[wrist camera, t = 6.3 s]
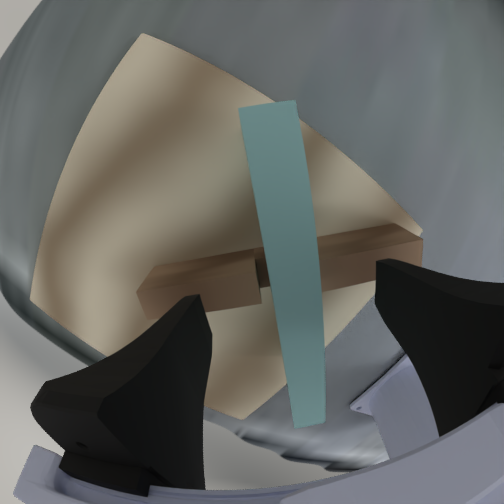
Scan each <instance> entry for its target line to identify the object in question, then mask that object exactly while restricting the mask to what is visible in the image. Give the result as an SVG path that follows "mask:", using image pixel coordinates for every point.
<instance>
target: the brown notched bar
mask: <svg viewBox="0 0 504 504" xmlns="http://www.w3.org/2000/svg"><path fill="white" fill-rule="evenodd" d="M317 245H318V255H319V266H320V277H321V290H322V292H325V291H330V290H335V289H340V288H344V287H349V286H353V285H358V284H362V283H366V282H371V281H375V280H376V261H378V260H382V259H387V258H391V259H396V260H400V261H403V262H407V263H410V264H413V265H416V266H419V267H421V265H422V250H423V239H422V238H420V237H418V236H417V235H415V234H413V233H411V232H410V231H408V230H406V229H405V228H403V227H401V226H399V225H397V224H396V223H392V224H387V225H381V226H375V227H370V228H364V229H359V230H353V231H347V232H342V233H336V234H331V235H325V236H319V237H317ZM269 286H270V280H269V275H268V269H267V263H266V258H265V252H264V247H258V248H253V249H247V250H242V251H236V252H231V253H225V254H220V255H215V256H209V257H204V258H198V259H193V260H187V261H182V262H176V263H171V264H166V265H160V266H155V267H153V269H152V270H151V271H150V273H149V274H148V276H147V277H146V278H145V280H144V281H143V283H142V284H141V285H140V287H139V288H138V290H137V291H136V294H137V296H138V299H139V301H140V304H141V306H142V309H143V311H144V314H145V316H146V318H147V320H151V319H160V318H161V317H162V316H163V315H164V314H165V313H166V312H167V311H168V310H170V309H171V308H172V307H173V306H174V305H175V304H176V303H177V302H178V301H179V300H181V299H182V298H183V297H185V296H189V295H195V294H200V297H201V300H202V303H203V307H204V310H205V313H206V312H213V311H220V310H226V309H233V308H239V307H245V306H251V305H257V304H262V300H261V291H260V288H264V287H269Z"/></svg>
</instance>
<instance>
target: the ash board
mask: <svg viewBox="0 0 504 504" xmlns="http://www.w3.org/2000/svg"><path fill="white" fill-rule="evenodd" d="M273 102H274V101H273V100H271V99H270V98H268V97H267V96H265V95H263V94H262V93H260V92H259V91H257V90H255V89H254V88H252V87H251V86H249V85H247V84H246V83H244V82H242V81H241V80H239V79H237V78H235V77H234V76H232V75H230V74H228V73H227V72H225V71H223V70H221V69H219V68H218V67H216V66H214V65H212V64H210V63H208V62H206V61H204V60H202V59H200V58H198V57H196V56H194V55H192V54H190V53H188V52H186V51H184V50H182V49H179V48H177V47H175V46H173V45H171V44H168V43H166V42H164V41H161V40H159V39H156V38H154V37H152V36H149V35H146V34H144V33H142V34H141V35H140V36H139V37H138V39H137V40H136V41H135V43H134V44H133V45H132V47H131V48H130V49H129V51H128V52H127V53H126V55H125V56H124V58H123V59H122V60H121V62H120V63H119V65H118V66H117V68H116V69H115V71H114V72H113V74H112V75H111V77H110V78H109V80H108V82H107V83H106V85H105V86H104V88H103V90H102V91H101V93H100V95H99V96H98V98H97V100H96V102H95V103H94V105H93V107H92V109H91V111H90V113H89V114H88V116H87V118H86V120H85V122H84V124H83V126H82V128H81V130H80V132H79V134H78V136H77V138H76V141H75V143H74V145H73V147H72V149H71V152H70V154H69V156H68V159H67V161H66V164H65V166H64V169H63V171H62V174H61V176H60V179H59V182H58V184H57V187H56V190H55V193H54V196H53V199H52V202H51V205H50V208H49V212H48V215H47V219H46V222H45V226H44V229H43V233H42V237H41V241H40V246H39V250H38V255H37V260H36V265H35V270H34V276H33V282H32V288H31V296H30V300H31V301H32V302H33V303H34V304H36V305H37V306H38V307H39V308H40V309H42V310H43V311H44V312H45V313H46V314H48V315H49V316H50V317H51V318H53V319H54V320H55V321H57V322H58V323H59V324H61V325H62V326H63V327H65V328H66V329H67V330H69V331H70V332H71V333H73V334H74V335H76V336H77V337H79V338H80V339H81V340H83V341H84V342H86V343H87V344H89V345H90V346H92V347H93V348H95V349H96V350H98V351H99V352H101V353H103V354H104V355H106V356H107V357H108V356H110V355H112V354H113V353H115V352H117V351H119V350H120V349H122V348H123V347H125V346H126V345H128V344H129V343H130V342H132V341H133V340H135V339H136V338H137V337H139V336H140V335H141V334H142V333H144V332H145V331H146V330H147V329H148V328H149V327H151V326H152V325H153V324H154V323H155V322H157V321H158V320H159V319H151V320H147V318H146V316H145V314H144V311H143V309H142V306H141V304H140V301H139V299H138V296H137V294H136V291H137V290H138V288H139V287H140V285H141V284H142V283H143V281H144V280H145V278H146V277H147V276H148V274H149V273H150V271H151V270H152V269H153V267H155V266H160V265H166V264H171V263H176V262H182V261H187V260H193V259H198V258H204V257H209V256H215V255H220V254H225V253H231V252H236V251H242V250H247V249H253V248H258V247H263V241H262V236H261V231H260V225H259V220H258V214H257V209H256V204H255V198H254V193H253V188H252V182H251V177H250V172H249V166H248V161H247V156H246V151H245V146H244V140H243V135H242V130H241V124H240V118H239V111H238V108H241V107H247V106H253V105H259V104H266V103H273ZM299 122H300V127H301V132H302V138H303V144H304V149H305V155H306V162H307V168H308V174H309V181H310V188H311V195H312V203H313V210H314V218H315V227H316V236H317V237H319V236H325V235H331V234H336V233H342V232H347V231H353V230H359V229H364V228H370V227H375V226H381V225H387V224H392V223H396V224H397V225H399V226H401V227H403V228H405V229H406V230H408V231H410V232H411V233H413V234H415V235H417V236H418V237H419V236H420V234H421V233H422V231H423V230H422V229H421V228H420V226H419V225H418V224H417V223H416V222H415V221H414V220H413V219H412V218H411V217H410V216H409V215H408V214H407V212H406V211H405V210H404V209H403V208H402V207H401V206H400V205H399V204H398V203H397V202H396V201H395V200H394V199H393V198H392V197H391V196H390V195H389V194H388V193H387V192H386V191H385V190H384V189H383V188H382V187H381V186H380V185H378V184H377V183H376V182H375V181H374V180H373V179H372V178H371V177H370V176H369V175H368V174H367V173H365V172H364V171H363V170H362V169H361V168H360V167H359V166H358V165H357V164H355V163H354V162H353V161H352V160H351V159H350V158H348V157H347V156H346V155H345V154H344V153H342V152H341V151H340V150H339V149H338V148H336V147H335V146H334V145H333V144H332V143H330V142H329V141H328V140H327V139H325V138H324V137H323V136H321V135H320V134H319V133H318V132H316V131H315V130H314V129H312V128H311V127H310V126H308V125H307V124H306V123H304V122H303V121H301V120H300V119H299ZM375 284H376V280H375V281H371V282H366V283H362V284H358V285H353V286H349V287H344V288H340V289H335V290H330V291H325V292H322V304H323V321H324V343H325V347H326V346H327V345H328V344H329V343H330V342H331V341H332V340H333V339H334V338H335V337H336V336H337V335H338V334H339V333H340V332H341V331H342V330H343V329H344V328H345V327H346V325H347V324H348V323H349V322H350V321H351V320H352V319H353V318H354V317H355V316H356V315H357V313H358V312H359V311H360V310H361V309H362V308H363V307H364V306H365V304H366V303H367V302H368V301H369V300H370V299H371V297H372V296H373V295H374V294H375ZM260 291H261V300H262V304H257V305H251V306H245V307H239V308H233V309H226V310H220V311H213V312H206V316H207V319H208V322H209V325H210V328H211V331H212V334H213V339H212V358H211V364H210V370H209V376H208V382H207V388H206V393H205V399H204V406H206V407H208V408H211V409H213V410H216V411H219V412H221V413H224V414H227V415H229V416H232V417H235V418H238V419H241V420H243V419H245V418H246V417H247V416H248V415H250V414H251V413H252V412H254V411H255V410H256V409H257V408H259V407H260V406H261V405H262V404H263V403H265V402H266V401H267V400H268V399H269V398H271V397H272V396H273V395H274V394H275V393H277V392H278V391H279V390H280V389H281V388H282V387H284V386H285V385H286V384H287V380H286V374H285V368H284V363H283V357H282V351H281V345H280V339H279V333H278V327H277V321H276V315H275V310H274V304H273V298H272V292H271V287H270V286H269V287H264V288H260Z"/></svg>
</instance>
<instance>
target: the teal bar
mask: <svg viewBox="0 0 504 504" xmlns="http://www.w3.org/2000/svg"><path fill="white" fill-rule="evenodd" d="M238 111H239V118H240V124H241V130H242V135H243V140H244V146H245V151H246V156H247V161H248V166H249V172H250V177H251V182H252V188H253V193H254V198H255V204H256V209H257V214H258V220H259V225H260V231H261V236H262V241H263V247H264V252H265V258H266V263H267V269H268V275H269V280H270V287H271V292H272V298H273V304H274V310H275V315H276V321H277V327H278V333H279V339H280V345H281V351H282V357H283V363H284V368H285V374H286V380H287V386H288V392H289V398H290V404H291V410H292V416H293V422H294V429H296V428H301V427H306V426H311V425H316V424H321V423H325V407H326V384H325V343H324V321H323V304H322V290H321V277H320V266H319V255H318V245H317V236H316V227H315V218H314V210H313V203H312V195H311V188H310V181H309V174H308V168H307V162H306V155H305V149H304V144H303V138H302V132H301V127H300V122H299V116H298V111H297V106H296V101H295V100H290V101H281V102H273V103H266V104H259V105H253V106H247V107H241V108H238Z"/></svg>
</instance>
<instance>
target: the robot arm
mask: <svg viewBox="0 0 504 504" xmlns="http://www.w3.org/2000/svg"><path fill="white" fill-rule="evenodd" d="M375 305H376V307H377V309H378V311H379V313H380V315H381V317H382V319H383V321H384V322H385V324H386V325H387V327H388V328H389V330H390V331H391V333H392V334H393V335H394V337H395V338H396V340H397V341H398V343H399V344H400V346H401V347H402V348H403V350H404V351H405V353H406V354H405V355H404V356H403V357H402V358H401V359H400V360H399V361H398V362H397V363H396V364H395V365H394V366H393V367H392V368H391V369H390V370H389V371H388V372H387V373H386V374H385V375H384V376H382V377H381V378H380V379H379V380H378V381H377V382H376V383H375V384H374V385H372V386H371V387H370V388H369V389H368V390H367V391H366V392H364V393H363V394H362V395H361V396H360V397H358V398H357V399H356V400H355V401H353V402H352V403H351V404H350V409H351V410H354V411H357V412H360V413H364V414H367V415H371V416H373V417H374V420H375V422H376V425H377V427H378V430H379V432H380V435H381V437H382V440H383V443H384V445H385V448H386V450H387V453H388V456H389V458H390V460H387V461H384V462H381V463H378V464H376V465H373V466H370V467H366V468H363V469H360V470H357V471H353V472H350V473H346V474H342V475H339V476H334V477H330V478H326V479H321V480H316V481H311V482H306V483H300V484H294V485H288V486H279V487H271V488H260V489H245V490H206V489H205V478H204V465H203V408H204V399H205V393H206V388H207V382H208V376H209V370H210V364H211V358H212V339H213V334H212V331H211V328H210V325H209V322H208V319H207V316H206V313H205V310H204V307H203V303H202V300H201V297H200V294H195V295H189V296H185V297H183V298H182V299H181V300H179V301H178V302H177V303H176V304H175V305H174V306H173V307H172V308H171V309H170V310H168V311H167V312H166V313H165V314H164V315H163V316H162V317H161V318H160V319H159V320H158V321H157V322H155V323H154V324H153V325H152V326H151V327H149V328H148V329H147V330H146V331H145V332H144V333H142V334H141V335H140V336H139V337H137V338H136V339H135V340H133V341H132V342H130V343H129V344H128V345H126V346H125V347H123V348H122V349H120V350H119V351H117V352H115V353H113V354H112V355H110V356H108V357H106V358H104V359H103V360H101V361H99V362H97V363H95V364H93V365H91V366H89V367H86V368H84V369H82V370H79V371H77V372H74V373H71V374H69V375H65V376H63V377H60V378H56V379H53V380H49V381H46V382H45V383H44V384H43V386H42V387H41V389H40V391H39V392H38V394H37V395H36V397H35V399H34V400H33V402H32V403H31V407H30V408H31V411H32V415H33V417H34V418H35V420H36V421H37V423H38V424H39V425H40V426H41V427H42V428H43V430H45V432H47V434H48V435H50V437H52V439H54V441H56V442H57V443H58V444H59V445H60V446H61V447H62V448H63V449H64V450H65V452H64V455H63V457H62V456H60V455H58V454H57V453H55V452H52V451H50V450H47V449H45V448H42V447H40V446H37V445H34V446H33V448H32V450H31V452H30V455H29V457H28V459H27V461H26V463H25V465H24V468H23V470H22V472H21V475H20V477H19V479H18V482H17V484H16V487H15V489H14V492H13V494H14V496H15V497H16V498H18V499H19V500H21V501H22V502H24V503H25V504H504V283H493V282H482V281H474V280H469V279H463V278H458V277H454V276H450V275H446V274H442V273H439V272H435V271H432V270H429V269H426V268H422V267H419V266H416V265H413V264H410V263H407V262H403V261H400V260H396V259H391V258H387V259H382V260H378V261H376V284H375Z"/></svg>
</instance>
